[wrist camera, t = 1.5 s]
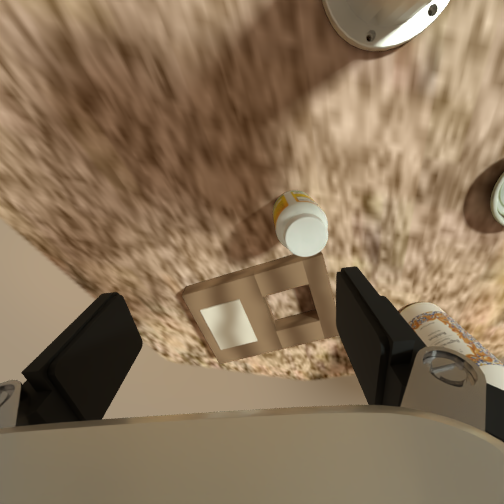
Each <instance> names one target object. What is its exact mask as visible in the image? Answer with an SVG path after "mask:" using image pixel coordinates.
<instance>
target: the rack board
mask: <svg viewBox="0 0 504 504" xmlns="http://www.w3.org/2000/svg"><path fill="white" fill-rule="evenodd" d="M307 284H308V285H309V289H310V292H311V296H312V299H313V303H314V306H315V309H316V310H313V311H309V312H305V313H301V314H297V315H294V316H290V317H286V318H282V319H278V320H275V319H274V317H273V314H272V311H271V309H270V306H269V304H268V301H267V298H266V296H267V295H271V294H275V293H278V292H282V291H285V290H289V289H293V288H296V287H300V286H304V285H307ZM182 297H183V299H184V301H185V303H186V305H187V306H188V308H189V310H190V312H191V314H192V315H193V317H194V319H195V321H196V323H197V324H198V326H199V328H200V330H201V332H202V333H203V335H204V337H205V339H206V341H207V342H208V344H209V346H210V348H211V350H212V351H213V353H214V355H215V357H216V359H217V360H218V362H219V364H222V363H226V362H231V361H235V360H239V359H243V358H247V357H251V356H256V355H260V354H264V353H268V352H272V351H277V350H281V349H285V348H289V347H293V346H297V345H302V344H306V343H310V342H314V341H318V340H322V339H327V338H331V337H335V336H339V333H338V331H337V327H336V306H335V302H334V298H333V294H332V290H331V286H330V282H329V278H328V274H327V270H326V265H325V261H324V257H323V254H322V253H321V251H320V252H319V253H317V254H315V255H313V256H309V257H301V256H297V255H295V254H293V255H290V256H287V257H283V258H280V259H277V260H273V261H270V262H267V263H263V264H260V265H256V266H253V267H250V268H246V269H243V270H240V271H236V272H233V273H230V274H226V275H223V276H220V277H216V278H213V279H210V280H206V281H203V282H200V283H196V284H193V285H189V286H186V288H185V290H184V293H183V295H182Z"/></svg>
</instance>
